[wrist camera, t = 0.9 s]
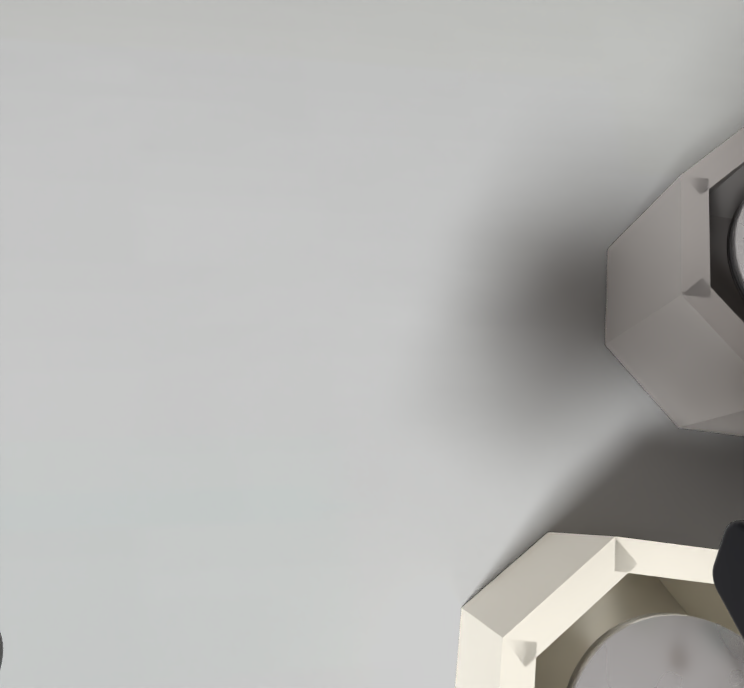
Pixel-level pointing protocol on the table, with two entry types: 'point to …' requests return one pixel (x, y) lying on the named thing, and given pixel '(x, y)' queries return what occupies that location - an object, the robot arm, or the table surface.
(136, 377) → the table surface
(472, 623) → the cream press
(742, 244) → the coffee tamper
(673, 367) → the grey octagonal hollow piece
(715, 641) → the brown and grey doorknob
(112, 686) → the table surface
